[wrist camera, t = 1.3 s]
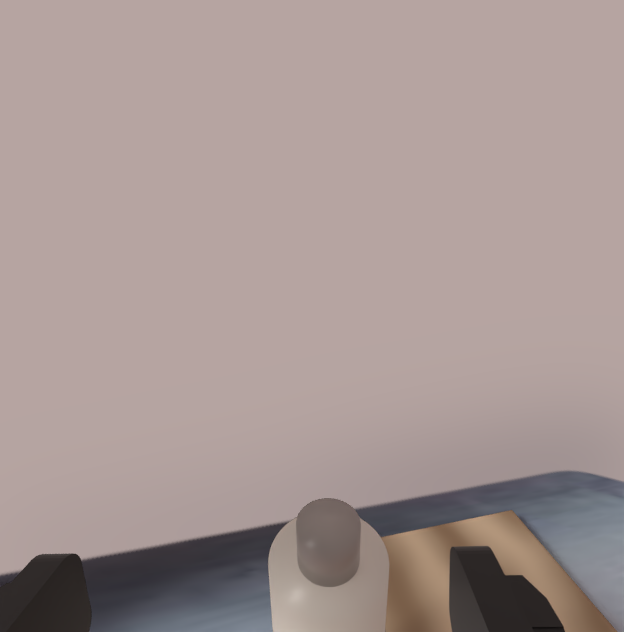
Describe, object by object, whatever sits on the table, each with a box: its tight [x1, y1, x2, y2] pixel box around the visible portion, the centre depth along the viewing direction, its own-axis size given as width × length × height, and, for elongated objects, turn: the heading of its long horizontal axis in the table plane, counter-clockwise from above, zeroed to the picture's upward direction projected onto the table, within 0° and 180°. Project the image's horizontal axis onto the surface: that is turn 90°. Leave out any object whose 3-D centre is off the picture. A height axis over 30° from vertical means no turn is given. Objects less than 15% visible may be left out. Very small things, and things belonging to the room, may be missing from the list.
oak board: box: [381, 510, 617, 632], centre depth 29 cm, size 15×15×1 cm
